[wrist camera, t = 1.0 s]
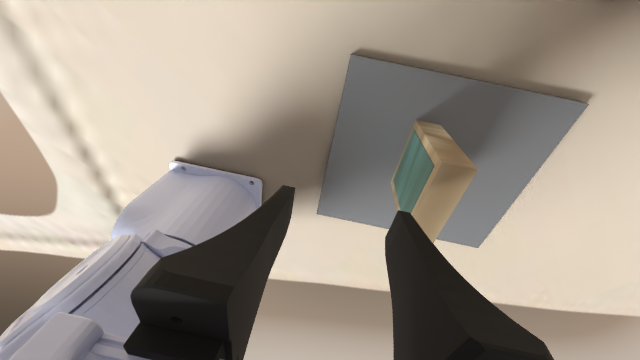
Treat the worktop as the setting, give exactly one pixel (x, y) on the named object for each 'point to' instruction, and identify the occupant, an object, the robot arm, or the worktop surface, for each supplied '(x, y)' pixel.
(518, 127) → the mat
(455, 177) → the wooden block
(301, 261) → the worktop surface
